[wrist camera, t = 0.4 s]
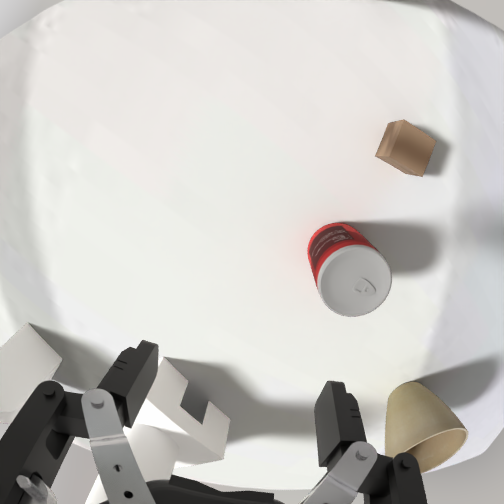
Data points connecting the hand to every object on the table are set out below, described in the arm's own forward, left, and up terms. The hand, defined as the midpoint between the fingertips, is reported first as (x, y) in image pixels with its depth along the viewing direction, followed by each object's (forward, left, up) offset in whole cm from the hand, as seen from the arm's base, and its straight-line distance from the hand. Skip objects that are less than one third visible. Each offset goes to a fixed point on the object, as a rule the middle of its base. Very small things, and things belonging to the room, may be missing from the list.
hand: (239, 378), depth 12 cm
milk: (+45, -36, -27) cm, 64 cm away
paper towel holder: (+39, -4, -27) cm, 48 cm away
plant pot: (+18, +38, -27) cm, 50 cm away
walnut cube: (-18, +12, -27) cm, 34 cm away
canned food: (-2, +10, -27) cm, 29 cm away
